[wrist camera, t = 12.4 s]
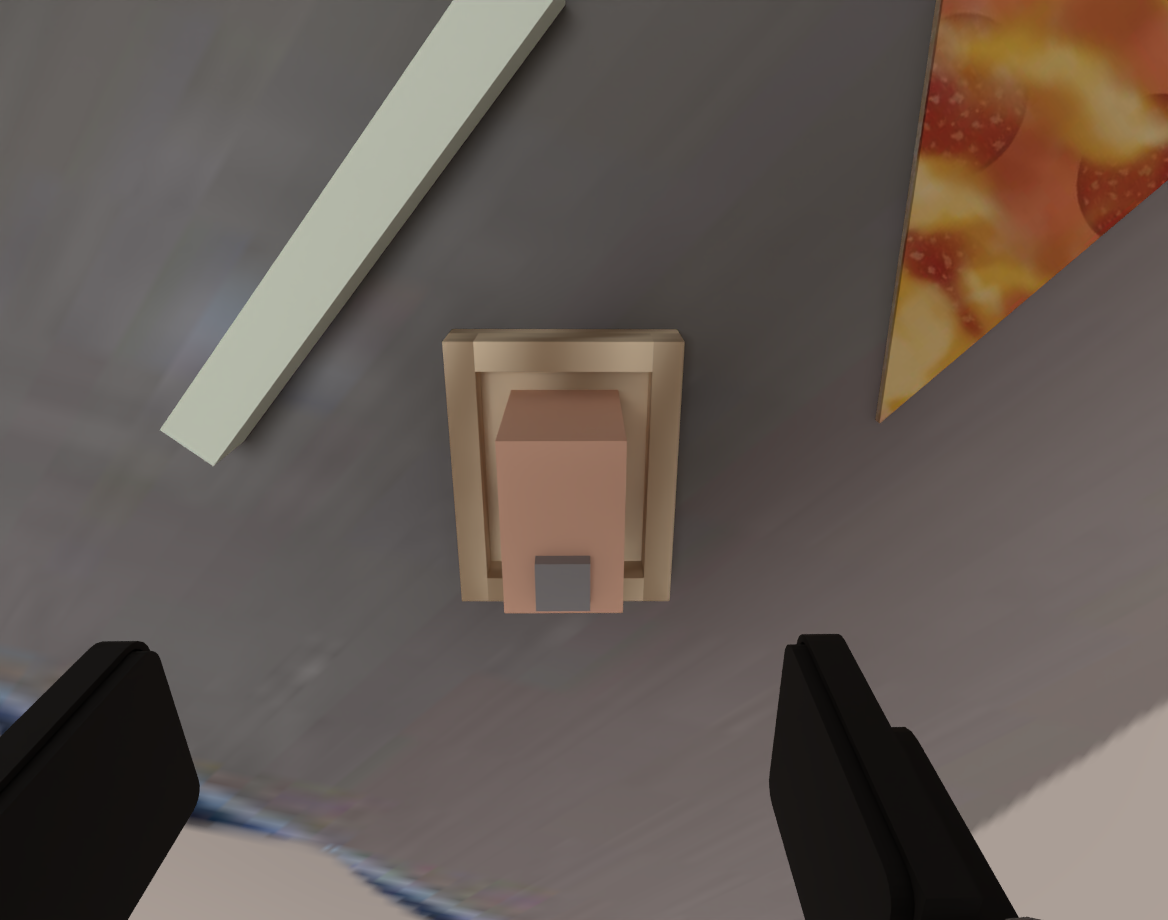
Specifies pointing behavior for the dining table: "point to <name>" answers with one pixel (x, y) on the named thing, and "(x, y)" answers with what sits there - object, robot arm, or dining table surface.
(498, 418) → the keyed cradle
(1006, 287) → the pizza slice
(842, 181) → the dining table surface
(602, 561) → the block
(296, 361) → the pale green bar
